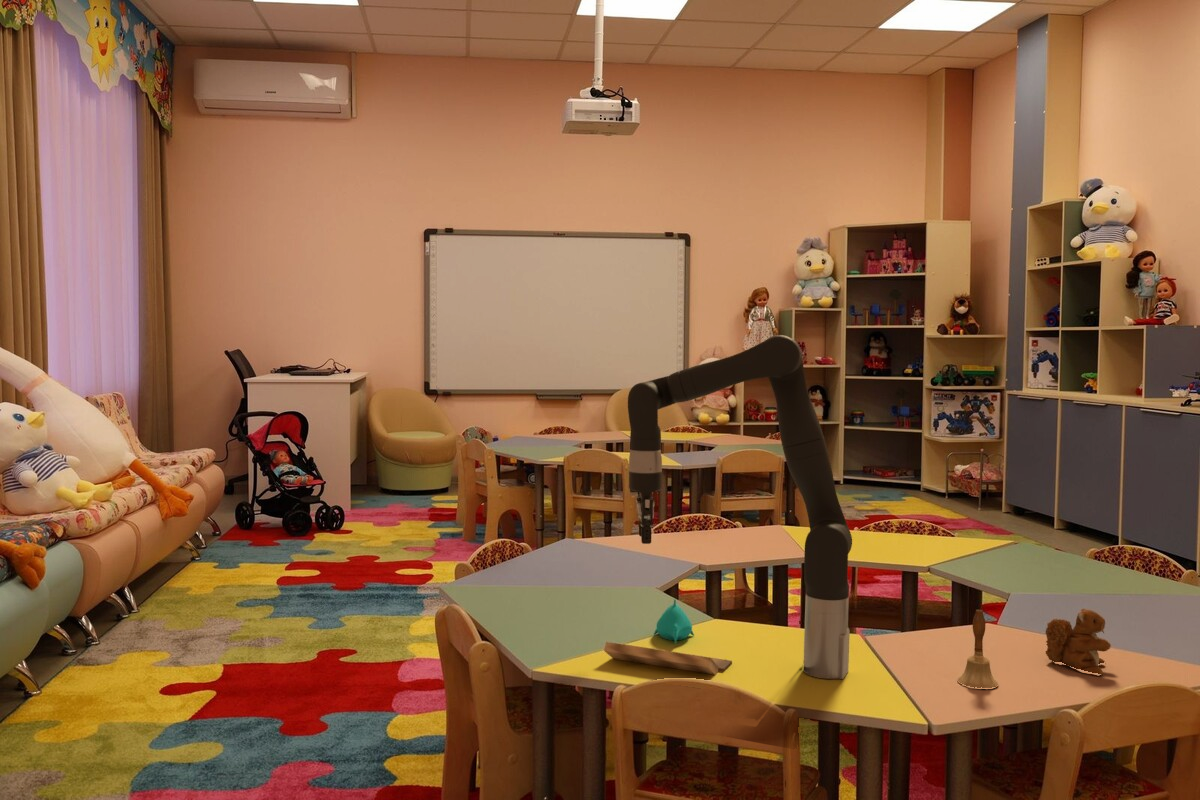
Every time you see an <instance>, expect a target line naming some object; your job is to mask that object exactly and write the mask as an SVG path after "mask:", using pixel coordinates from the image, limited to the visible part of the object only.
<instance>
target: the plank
mask: <svg viewBox="0 0 1200 800" xmlns="http://www.w3.org/2000/svg"><path fill="white" fill-rule="evenodd" d="M629 645H630V644H625V645H623V643H622V644H621V643H616V642H615V643H613V642H609V641H606V642H605V646H604V649H603V652H604V653H606V654H607V655H608V656H610V657H611V658H612V659H615V660H621V661H626V662H627V661H628V662H634V663H640V664H645V665H646V664H647V665H652V666H658V667H663V668H664V667H665V668H671V669H677V670H684V671H690V672H697V673H701V674H702V673H703V674H709V675H715V676H716V675H717V674H718V673H719V671H718V669H719V667H718V666H717V664H716V663H715V662H714V661H713V660H712V659H711V658H712V657H710V658H708V656H704V657H701V656H702V655H697V656H695V655H696V654H691V655H688V654H689V653H684V654H681V653H682V652H678V653H675V652H676V651H671V652H668V651H669V650H664V651H662V650H663V649H658V650H655V649H656V648H651V649H649V648H650V647H645V648H642V647H643V646H638V647H636V646H637V645H632V646H629Z"/></svg>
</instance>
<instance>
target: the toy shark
mask: <svg viewBox="0 0 1200 800" xmlns="http://www.w3.org/2000/svg"><path fill="white" fill-rule="evenodd" d="M676 601H677V600H676V598H674V600H673V604H671V605H669V607H667V608H666V609H665V611H664V612H663V613H662V615H661V616H660V617H659V619H658V621H656V622H657V623H656V628H655V630H654V633H653V636H654V635H656V634H659V635H660V637H662V638H663V639H664V640H668V641H669V640H670V641H674V643H675V644H677V641H682V640H685V639H686V638H688V637H689V636H690V635H692V636H693V637H695V634H694V631H693V625H692V623H691V621H690V618H689V617H688V615H687V614H686V612H685V611H684V610H683V609H682V607H680V605H678V604H677V603H676Z"/></svg>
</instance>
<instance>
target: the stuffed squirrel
mask: <svg viewBox="0 0 1200 800" xmlns="http://www.w3.org/2000/svg"><path fill="white" fill-rule="evenodd" d="M1105 620H1106V619H1105V618H1104V617H1103V616H1102V615H1100V614H1099V613H1098V612H1096V611H1094V610H1092V609H1086V608H1082V609H1081V610H1080V612H1078V613H1077V615H1076V620H1075V625H1074V627H1073V626H1072V624H1071V621H1069V620H1065V619H1063V618H1062V619H1061V618H1059V619H1058V618H1053V619H1052V620H1051V621H1049V622H1047V624H1046V625H1047V627H1046V628H1045V630H1044V631H1045V635H1046V639H1047V640H1046V641H1045V643H1046V646H1047V650H1045V655H1046V656H1047V658H1048V659H1049V660H1052V661H1054V662H1062V663H1064V664H1066V665H1069V666H1071V667H1074V668H1076V669H1081V670H1084V671H1088V672H1092V673H1098V674H1102V673H1104V672H1103V670H1102V669H1101V667H1100V666H1099V667H1098V664H1100V663H1104V662H1105V660H1104V659H1103V658H1100V655H1099V652H1107V651H1108V650H1111V647H1112V645H1111V643H1110V642H1109V641H1108V640H1107V639H1104V638H1102V637H1099V636H1098V634H1099V633H1101V632H1102V634H1105V628H1106V621H1105ZM1052 661H1051V662H1052ZM1105 663H1106V662H1105ZM1102 675H1103V674H1102Z"/></svg>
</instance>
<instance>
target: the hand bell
mask: <svg viewBox="0 0 1200 800" xmlns="http://www.w3.org/2000/svg"><path fill="white" fill-rule="evenodd" d="M983 611H984V610H982V609H975V614H974V616H973V619H972V632H973V636H974V648H973V649H974V654H973V655H971V656H968V658H967V661H966V664H965V665H966V666H965V669H964V671H963V673H962V674H961V675H960V676H958V678H957V679H958V681H959V682H960V683H962V684H964V685H966V686H970V687H974V688H975V687H977V688H981V687H982V688H992V687H996V686H997V685H998V686H999V682H998V681H997V680H996V679H995V678H994V676H993V674H992V670H991V663H990V660H989V658H988V657H985V656H984V648H983V647H984V646H983V641H984V636H985V632H986V618H985V616H984V612H983Z"/></svg>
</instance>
